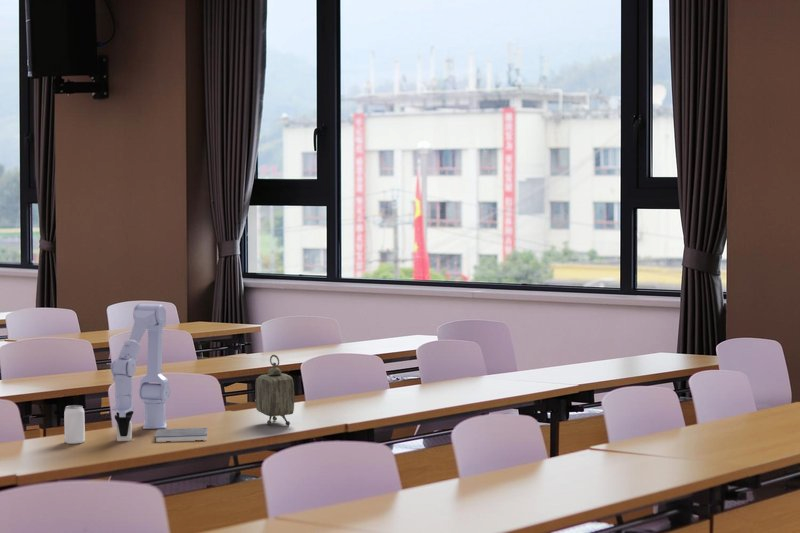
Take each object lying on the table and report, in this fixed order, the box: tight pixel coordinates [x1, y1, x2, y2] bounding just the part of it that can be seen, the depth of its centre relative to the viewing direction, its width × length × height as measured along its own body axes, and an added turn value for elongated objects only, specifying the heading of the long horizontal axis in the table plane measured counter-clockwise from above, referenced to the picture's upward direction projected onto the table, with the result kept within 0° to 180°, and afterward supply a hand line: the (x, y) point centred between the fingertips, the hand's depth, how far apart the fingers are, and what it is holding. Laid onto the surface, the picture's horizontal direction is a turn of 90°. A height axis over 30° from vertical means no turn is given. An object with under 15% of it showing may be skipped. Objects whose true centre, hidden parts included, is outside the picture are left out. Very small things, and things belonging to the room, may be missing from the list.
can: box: [63, 404, 86, 445], centre depth 390 cm, size 6×6×12 cm
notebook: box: [154, 427, 208, 443], centre depth 398 cm, size 12×17×2 cm
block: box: [116, 419, 133, 442], centre depth 395 cm, size 4×4×6 cm
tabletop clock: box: [254, 354, 295, 427], centre depth 420 cm, size 14×9×25 cm, turn 32°
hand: (124, 434), depth 395 cm, fingers closed on block, 4 cm apart
